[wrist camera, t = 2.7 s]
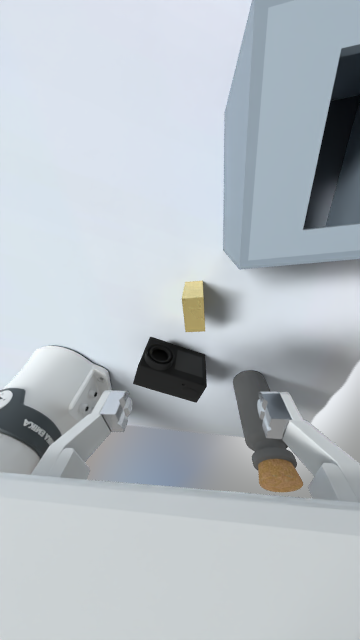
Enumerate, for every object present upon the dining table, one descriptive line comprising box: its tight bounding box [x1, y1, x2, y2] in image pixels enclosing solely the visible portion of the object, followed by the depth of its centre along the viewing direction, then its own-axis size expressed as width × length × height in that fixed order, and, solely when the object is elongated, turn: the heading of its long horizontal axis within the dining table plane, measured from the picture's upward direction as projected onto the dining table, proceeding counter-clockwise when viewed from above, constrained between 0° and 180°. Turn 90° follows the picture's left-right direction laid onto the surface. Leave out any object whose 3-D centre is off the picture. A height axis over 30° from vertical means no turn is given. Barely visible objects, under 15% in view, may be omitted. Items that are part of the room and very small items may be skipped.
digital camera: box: [133, 337, 207, 402], centre depth 28 cm, size 10×5×7 cm, turn 72°
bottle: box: [233, 371, 303, 492], centre depth 26 cm, size 6×6×15 cm
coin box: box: [223, 0, 360, 269], centre depth 14 cm, size 12×12×10 cm
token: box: [182, 281, 205, 332], centre depth 23 cm, size 4×2×6 cm, turn 6°
